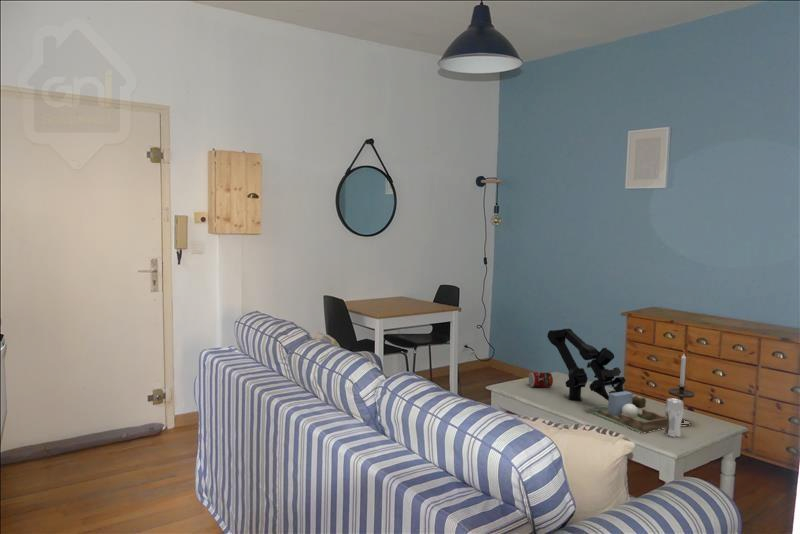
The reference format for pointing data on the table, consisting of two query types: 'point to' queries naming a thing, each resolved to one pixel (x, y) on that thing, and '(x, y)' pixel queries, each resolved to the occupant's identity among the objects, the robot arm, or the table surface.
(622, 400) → the block
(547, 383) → the canned food
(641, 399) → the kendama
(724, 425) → the table surface
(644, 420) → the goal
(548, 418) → the table surface
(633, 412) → the ball
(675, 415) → the beer glass
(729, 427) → the table surface
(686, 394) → the candlestick
